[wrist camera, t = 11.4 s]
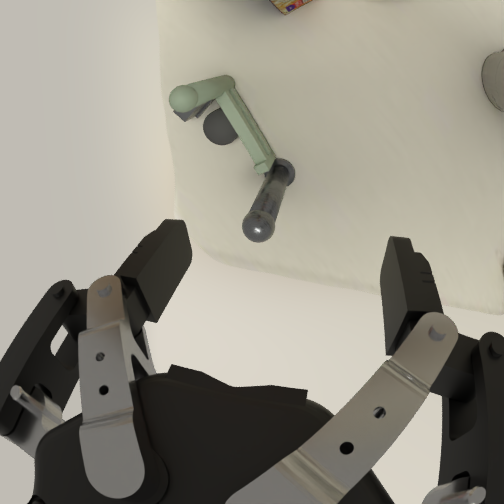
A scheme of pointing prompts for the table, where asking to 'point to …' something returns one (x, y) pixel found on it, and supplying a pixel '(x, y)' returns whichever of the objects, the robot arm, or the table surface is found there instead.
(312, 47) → the table surface
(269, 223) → the hinge post
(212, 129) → the rubber door stop
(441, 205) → the table surface
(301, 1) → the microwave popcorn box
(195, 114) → the latch block
